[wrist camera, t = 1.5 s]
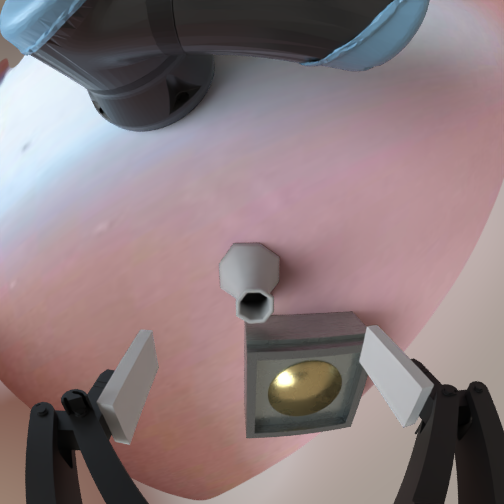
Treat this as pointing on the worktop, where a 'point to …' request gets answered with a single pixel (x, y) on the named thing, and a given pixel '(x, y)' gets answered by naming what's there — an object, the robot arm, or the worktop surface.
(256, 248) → the flask
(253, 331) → the grey boxy piece
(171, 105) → the robot arm
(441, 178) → the worktop surface
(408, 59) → the worktop surface
